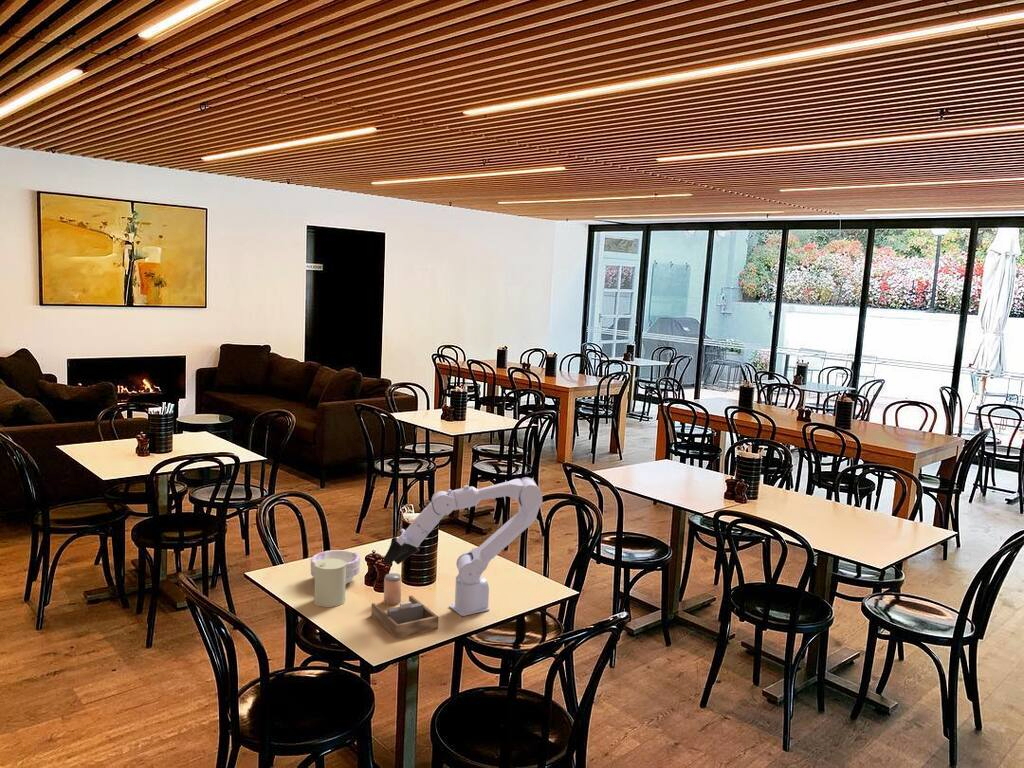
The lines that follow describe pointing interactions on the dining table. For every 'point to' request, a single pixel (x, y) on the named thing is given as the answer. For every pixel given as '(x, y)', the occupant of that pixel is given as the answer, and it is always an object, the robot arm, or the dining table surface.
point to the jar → (392, 589)
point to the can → (330, 582)
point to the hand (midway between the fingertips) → (390, 562)
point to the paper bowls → (348, 556)
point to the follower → (406, 612)
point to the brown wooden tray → (409, 627)
